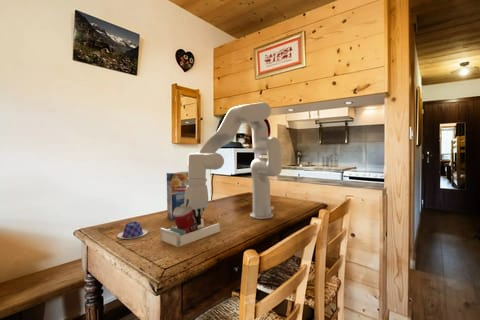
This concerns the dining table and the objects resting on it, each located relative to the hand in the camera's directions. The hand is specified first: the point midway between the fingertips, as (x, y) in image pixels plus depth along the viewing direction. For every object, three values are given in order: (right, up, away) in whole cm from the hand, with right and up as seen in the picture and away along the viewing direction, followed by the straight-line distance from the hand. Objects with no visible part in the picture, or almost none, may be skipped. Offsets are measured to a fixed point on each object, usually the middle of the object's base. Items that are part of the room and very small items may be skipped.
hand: (197, 224), depth 104 cm
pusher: (-7, -4, -8) cm, 11 cm away
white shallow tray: (-2, -4, -2) cm, 5 cm away
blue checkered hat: (-28, -5, -1) cm, 28 cm away
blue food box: (-14, -3, +27) cm, 31 cm away
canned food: (-3, -3, -3) cm, 5 cm away
